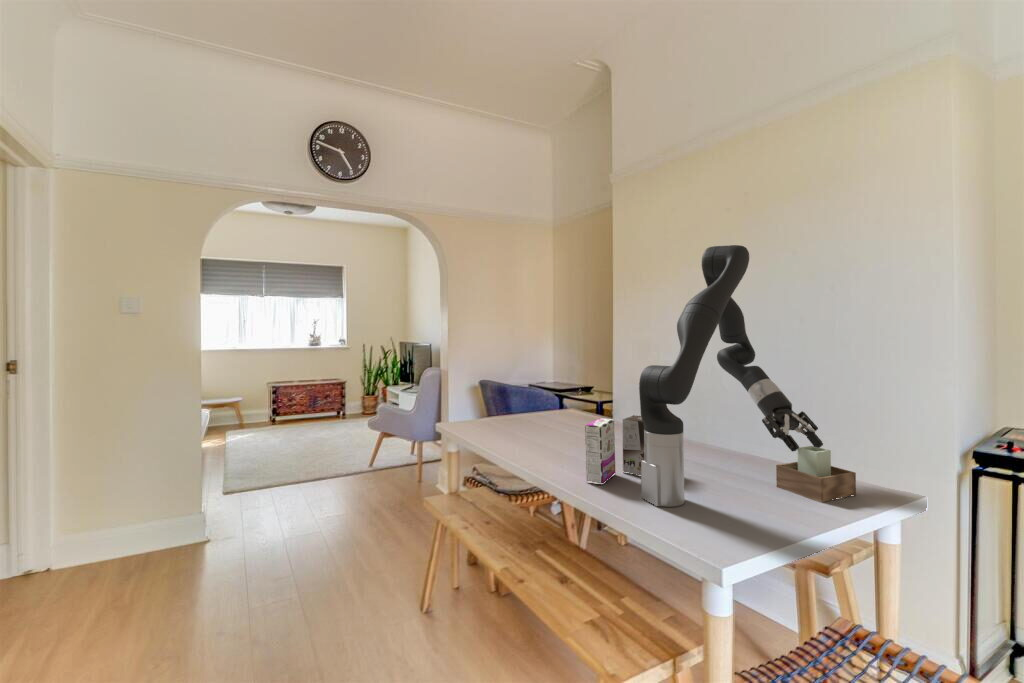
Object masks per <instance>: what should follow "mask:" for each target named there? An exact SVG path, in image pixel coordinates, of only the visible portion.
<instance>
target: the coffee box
mask: <svg viewBox="0 0 1024 683" xmlns="http://www.w3.org/2000/svg"><path fill="white" fill-rule="evenodd" d="M642 460H644V423H643V421H642V418H641V415H634V414H633V415H631V416H629V417H625V418H623V419H622V472H623V471H624V472H629V473H633V474H637V475H641V461H642ZM637 475H636V476H637Z"/></svg>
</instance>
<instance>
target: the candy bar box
mask: <svg viewBox="0 0 1024 683" xmlns="http://www.w3.org/2000/svg"><path fill="white" fill-rule="evenodd" d="M584 428H585V429H584V430H585V431H584V432H585V455H586V456H585V460H586V461H585V464H586V482H587V481H592V482H597V483H604V482H605V481H606V480H607V479H609V478H610V477H611V476H612V475H613V474H614V473H616V450H615V449H616V446H615V442H616V441H615V440H616V439H615V438H616V437H615V419H613V418H605V417H604V418H603V417H602V418H600V417H599V418H597V419H595V420H593V421H591V422H589V423H587V424H585V425H584ZM609 480H610V479H609Z"/></svg>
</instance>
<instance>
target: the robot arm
mask: <svg viewBox="0 0 1024 683" xmlns="http://www.w3.org/2000/svg"><path fill="white" fill-rule="evenodd" d="M749 262H750V252H749V250H748V248H747V247H746V246H744V245H738V244H733V245H732V244H731V245H729V244H728V245H714V246H709V247H707V248H706V249H705V250H704V252H703V254H702V256H701V270H702V275H703V278H704V281H705V284H706V287H705V288H704V289H703V290H701V291H699V292H698V293H697V294H695V295H694V296H693V297H692V298H690V299H689V300H688V301H687V303H686V304H685V305H684V308H683V309H682V312H681V314H680V316H679V318H678V320H677V322H676V331H677V337H678V341H679V345H680V349H679V352H678V355H677V358H676V359H675V361H674V363H673V364H672V365H669V366H668V365H653V364H652V365H648V366H646V367H645V368H643V370H642V372H641V374H640V377H639V382H638V390H639V406H640V408H639V409H640V416H641V418H642V421H643V423H644V460H642V461H641V476H640V477H641V478H640V479H641V480H640V482H641V485H640V486H641V488H640V489H641V493H640V494H641V499H642V498H643V499H642V500H644V499H645V500H644V501H646V500H647V501H646V502H648V503H649V502H650V503H649V504H651V503H652V504H651V505H653V504H654V505H653V506H655V507H657V506H658V507H666V508H668V507H679V506H682V505H684V503H685V452H684V451H685V447H684V445H685V444H684V443H685V441H684V440H685V439H684V437H685V436H684V435H685V434H684V433H685V432H684V421H683V420H682V418H680V417H679V416H677V415H676V414H674V413H673V412H672V411H671V410H670V409H669V407H668V406H667V405H673V406H674V405H675V406H676V405H681V404H683V402H685V401H686V399H687V398H688V397H689V395H690V392H691V391H692V388H693V385H694V382H695V380H696V376H697V374H698V371H699V366H700V364H701V362H702V360H703V357H704V355H705V352H706V350H707V348H708V345H709V343H710V341H711V339H712V337H713V335H714V333H715V331H716V329H717V328H718V330H719V337H720V339H721V341H722V342H723V343H725V344H728V345H729V344H731V345H730V346H726V347H724V348H722V349H720V350H718V352H717V353H716V354H717V355H716V360H717V362H718V365H719V366H720V367H721V368H722V369H723V370H724V371H725V372H727V374H729V375H730V376H732V377H733V378H734V379H735V380H736V381H738V382H740V384H741V385H742V386H743V388H744V389H745V390H746V392H747V393H748V395H749V396H750V399H751V400H752V401H753V402H754V404H755V405H756V406H757V408H758V409H759V411H760V412H761V413H762V414H763V416H764V417H763V418H762V419H761V422H762V423H763V425H764V427H765V428H766V429H767V431H768V432H769V434H770V435H771V436H772V437H773V439H779V440H782V442H784V444H785V446H786V447H787V448H788V449H789V451H791V452H796V451H798V449H799V448H800V445H799V444H798V443H797V442H796V440H795V439H794V438H793V436H792V435H791V434H790V432H789V431H794V432H796V433H801V434H803V435H804V436H805V437H806V438H807V440H808V441H809V442H810V443H811V446H814V447H818V448H822V446H824V443H823V441H822V440H821V439H820V437H819V436H818V435H817V434H816V433H815V432H816V431H818V430H819V427H818V426H817V425H816V424H815V423H814V421H813V420H812V419H811V417H809V416H808V414H807V413H806V412H804V411H803V410H802V411H800V412H799V413H796V412H795V411H794V410H793V404H792V402H791V401H790V400H789V399H788V397H787V396H786V395H785V393H783V391H782V390H781V388H779V386H778V385H777V384H776V383H775V382H774V381H773V380H771V378H770V377H769V376H768V374H767V373H766V372H765V371H764V370H763V369H762V367H760V366H759V365H749V364H751V363H753V362H754V360H755V359H756V352H755V349H754V347H753V345H752V344H751V342H750V339H749V336H748V335H747V330H746V322H745V316H744V312H743V311H742V309H741V307H740V306H739V304H738V303H737V302H736V301H735V299H734V298H733V297H732V296H733V294H734V292H735V291H736V289H737V288H738V286H739V285H740V283H741V281H742V279H743V278H744V276H745V274H746V272H747V269H748V267H749ZM732 344H733V345H732ZM747 365H748V366H747ZM800 424H801V425H800Z"/></svg>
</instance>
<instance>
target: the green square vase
mask: <svg viewBox="0 0 1024 683" xmlns="http://www.w3.org/2000/svg"><path fill="white" fill-rule="evenodd" d="M831 454H832V452H831V450H830V449H825V448H822V447H820V448H818V447H814V446H813V445H808V446H801V447H800V446H799V449H797V462H798V471H801V472H804V473H807V474H811V475H814V476H817V477H826V476H831V466H832V461H831V460H832V459H831V458H832V457H831V456H832V455H831Z"/></svg>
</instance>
